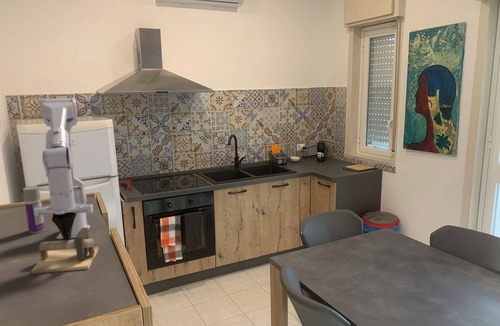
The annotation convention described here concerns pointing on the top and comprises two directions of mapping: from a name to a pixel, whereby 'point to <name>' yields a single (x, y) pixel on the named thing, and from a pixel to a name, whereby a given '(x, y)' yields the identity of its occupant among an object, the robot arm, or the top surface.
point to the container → (31, 203)
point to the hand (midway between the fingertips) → (67, 238)
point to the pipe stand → (63, 256)
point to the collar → (81, 244)
